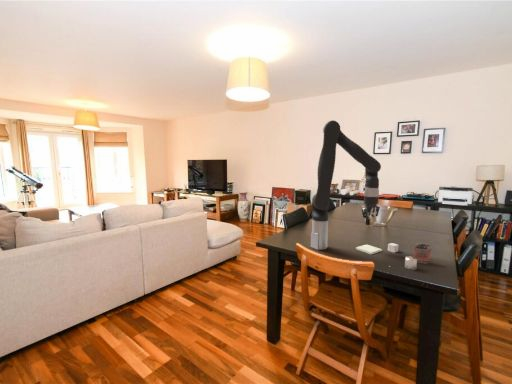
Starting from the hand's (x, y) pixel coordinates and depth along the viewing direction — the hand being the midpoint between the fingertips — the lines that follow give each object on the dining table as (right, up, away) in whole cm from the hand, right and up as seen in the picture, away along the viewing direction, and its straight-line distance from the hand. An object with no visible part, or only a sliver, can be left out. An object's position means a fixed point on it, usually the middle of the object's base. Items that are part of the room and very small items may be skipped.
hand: (370, 224), depth 147 cm
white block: (+14, -16, +1) cm, 21 cm away
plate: (0, -16, +2) cm, 16 cm away
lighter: (+20, -18, -15) cm, 31 cm away
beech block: (0, -1, 0) cm, 1 cm away
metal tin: (+10, -19, -22) cm, 31 cm away
